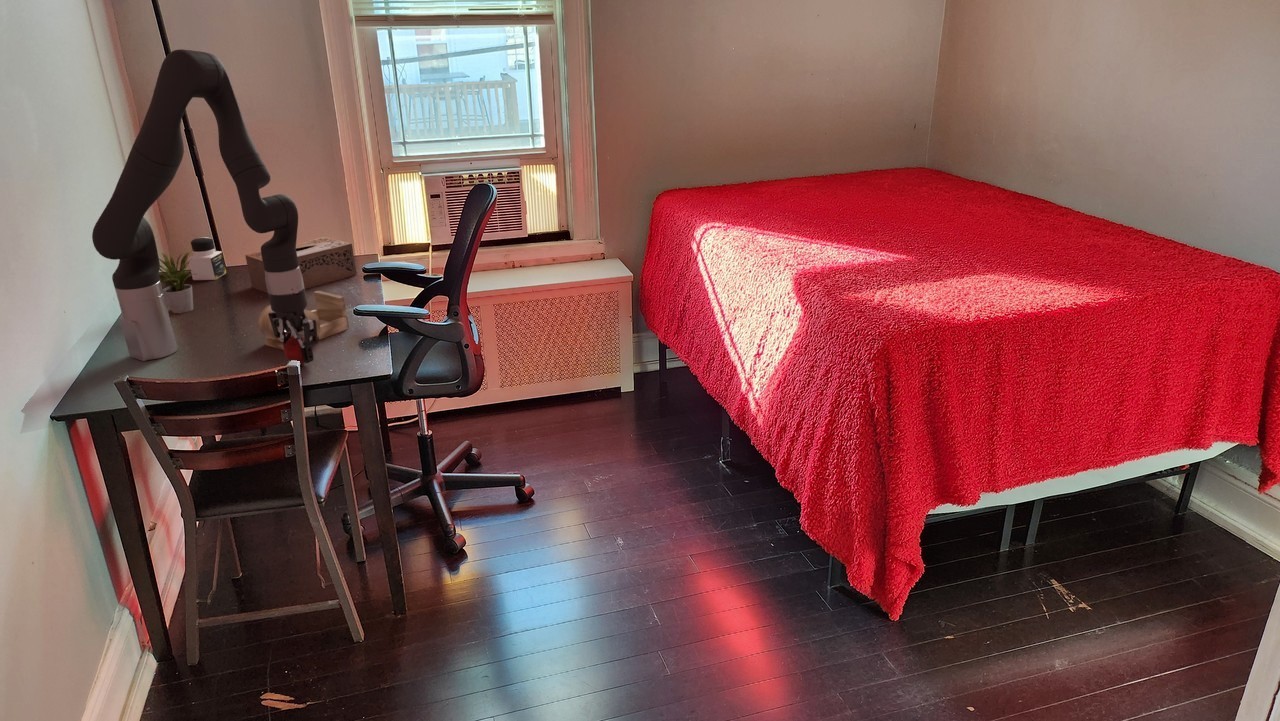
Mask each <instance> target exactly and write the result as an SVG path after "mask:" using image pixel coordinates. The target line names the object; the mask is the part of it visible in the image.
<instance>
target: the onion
mask: <svg viewBox="0 0 1280 721" xmlns="http://www.w3.org/2000/svg"><path fill="white" fill-rule="evenodd" d="M298 334H299V333H298ZM302 339H303V341H304V342H305V339H304V337H302ZM301 348H302V347H301V346H300V344H299V341H298V340H297V339H295V338H294V336H293V335H292V337H291V338H289V339H288V341H287V342H286V344H285V346H284V350H283V353H284V355H285V358H286V359H287V360H288V361H289V362H291V360H297V361H300V363H301V365H300V366H303V365H305V364H306V363H305V362H303V357H302V352H301Z"/></svg>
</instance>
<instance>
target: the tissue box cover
mask: <svg viewBox="0 0 1280 721" xmlns="http://www.w3.org/2000/svg"><path fill="white" fill-rule="evenodd" d="M296 252H297V257H298V263H299V267H300V271H301V274H302V277H303V282H304V288H305V290H306V289H309V288H314V287H317V286H321V285H324V284H328V283H332V282H335V281H338V280H339V281H340V280H343V279H346V278H350V277H352V276H357V275H358V273H357V266H356V262H355V261H356V260H355V255H354V248H353V244H352V243H351V242H347V241H343V240H340V239H338V238H337V239H336V238H332V237H329V236H323V237H322V236H321V237H319V238H318V237H317V238H313V239H310V240H306V241H305V240H304V241H301V242H296ZM244 257H245V262H246V265H247V271H248V274H249V279H250V284H251V288H253V289H256V290H258V291H261V292H264V293H267V294H268V291H267V286H266V281H265V270H264V265H263V260H262V256H261V251H256V252H252V253H249V254H248V253H247V254H245V256H244Z"/></svg>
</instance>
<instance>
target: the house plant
mask: <svg viewBox="0 0 1280 721" xmlns="http://www.w3.org/2000/svg"><path fill="white" fill-rule="evenodd" d="M192 252H193V250H192V249H191V250H189V251H186V252H183V253H181V254H179V256H178V258H177V260H176V264H175V260H174V258H173V255H172V254H171V253H169V256H170V257H169V258H170V259H169V258H168V255H166V254H165V253H163V252H161V255H162V257H163V259H164V260H163V259H161V258H159V262H161V263H162V264H163V265H164V266H165V267H166V268H165V267H164V266H162V265H161V264H160V269H159V272H161V273H163V274H161V273H159V278H160V282H161V284H164V285H166V286H167V287H165V288H162V290H163V294H164V298H166V299H165V300H166V301H167V304H168V305H169V308H170V309H171V312H172V313H174V314H183V313H188V312H191V311H193V310H194V299H193V298H194V297H193V296H194V295H193V286H192V284H187V283H185V282H186V280H187V279H188V278H189V277H190V276H191V277H192V275H194V274H192V273H191V274H190V273H189V272H191V271H192V270H191V269H190V270H186V268H187V266H188V265H189V262H190V261H188V258H189V257H190V253H192ZM182 256H183V257H182ZM181 257H182V258H181ZM180 258H181V261H180V265H179V260H180ZM191 259H192V258H191ZM191 259H190V260H191ZM187 261H188V262H187ZM178 265H179V266H180V267H179V272H178ZM192 272H193V271H192ZM196 275H197V274H196Z"/></svg>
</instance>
